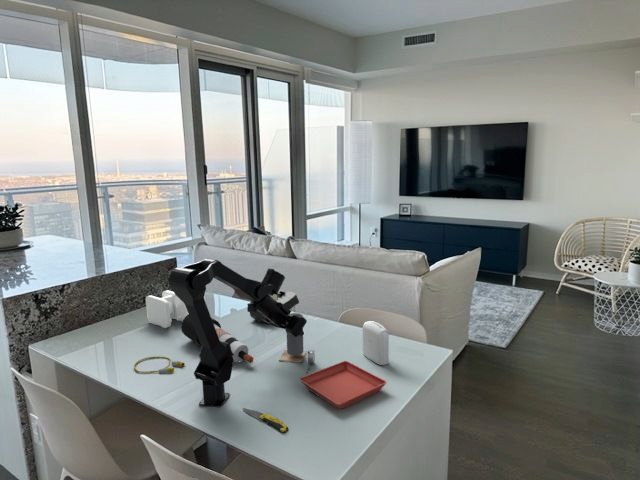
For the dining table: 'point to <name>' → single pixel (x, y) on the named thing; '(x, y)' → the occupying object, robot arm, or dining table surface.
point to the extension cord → (164, 370)
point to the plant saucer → (342, 384)
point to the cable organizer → (165, 309)
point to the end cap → (257, 316)
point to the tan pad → (292, 357)
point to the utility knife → (268, 420)
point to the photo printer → (376, 342)
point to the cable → (236, 346)
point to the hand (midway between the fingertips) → (298, 332)
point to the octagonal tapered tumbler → (294, 342)
